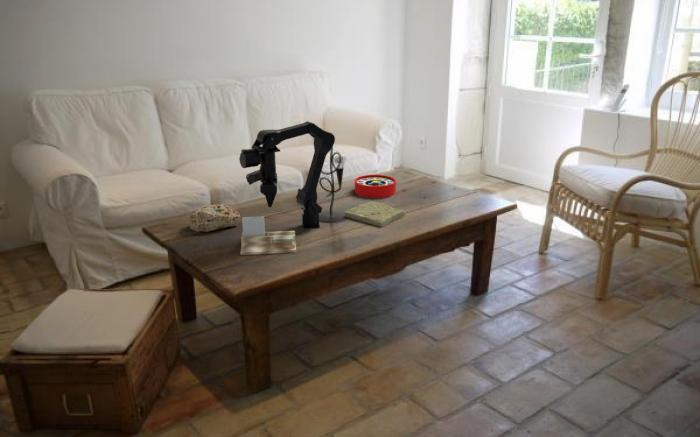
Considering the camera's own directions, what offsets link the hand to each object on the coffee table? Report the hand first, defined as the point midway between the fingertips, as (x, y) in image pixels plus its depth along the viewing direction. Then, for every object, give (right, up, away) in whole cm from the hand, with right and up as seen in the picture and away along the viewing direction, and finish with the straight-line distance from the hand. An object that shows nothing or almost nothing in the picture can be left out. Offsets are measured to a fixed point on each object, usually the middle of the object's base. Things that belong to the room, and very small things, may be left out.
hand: (270, 203), depth 222 cm
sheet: (-5, -15, -6) cm, 17 cm away
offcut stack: (+6, -16, -10) cm, 20 cm away
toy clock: (+43, +7, +57) cm, 71 cm away
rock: (-24, -9, +14) cm, 29 cm away
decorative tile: (+42, -5, +24) cm, 49 cm away
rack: (0, -16, -7) cm, 18 cm away
